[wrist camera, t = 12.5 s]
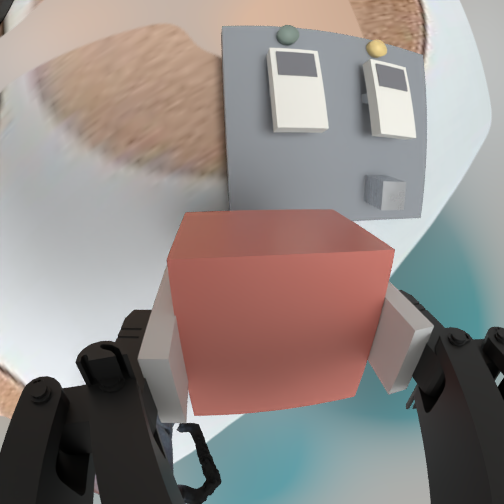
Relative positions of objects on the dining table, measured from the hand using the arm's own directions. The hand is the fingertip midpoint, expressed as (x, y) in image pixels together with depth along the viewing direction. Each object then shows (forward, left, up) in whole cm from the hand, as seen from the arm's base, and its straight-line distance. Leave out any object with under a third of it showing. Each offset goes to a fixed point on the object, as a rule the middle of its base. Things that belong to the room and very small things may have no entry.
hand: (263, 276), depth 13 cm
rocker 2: (-9, +12, -9) cm, 18 cm away
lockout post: (-1, +12, -11) cm, 17 cm away
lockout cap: (0, 0, 0) cm, 0 cm away
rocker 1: (-9, +4, -9) cm, 14 cm away
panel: (-7, +9, -14) cm, 18 cm away
